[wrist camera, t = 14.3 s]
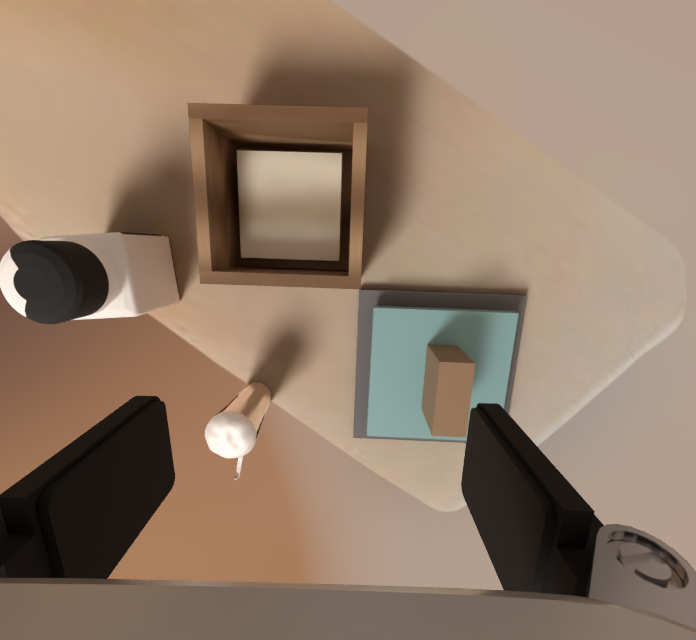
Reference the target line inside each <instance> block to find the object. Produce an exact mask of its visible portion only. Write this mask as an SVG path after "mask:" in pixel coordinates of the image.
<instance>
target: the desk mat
mask: <svg viewBox="0 0 696 640" xmlns="http://www.w3.org/2000/svg"><path fill="white" fill-rule="evenodd" d="M526 297H527V296H525V295H516V294H489V293H461V292H433V291H405V290H377V289H359V312H358V337H357V361H356V386H355V411H354V437H353V438H372V439H394V440H416V441H439V442H461V443H466V442H467V441H463V440H442V439H420V438H399V437H378V436H367V414H368V395H369V376H370V357H371V338H372V319H373V306H398V307H424V308H450V309H475V310H501V311H514V312H517V313H519V314H518V321H517V327H516V334H515V340H514V346H513V353H512V359H511V366H510V372H509V378H508V385H507V391H506V398H505V404H504V410H505V411H506V412H507V413H508V411H509V405H510V399H511V392H512V386H513V380H514V373H515V367H516V361H517V354H518V348H519V342H520V335H521V329H522V323H523V316H524V310H525V304H526Z"/></svg>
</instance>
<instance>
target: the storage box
mask: <svg viewBox="0 0 696 640" xmlns="http://www.w3.org/2000/svg"><path fill="white" fill-rule="evenodd" d="M188 116H189V130H190V144H191V159H192V173H193V187H194V202H195V216H196V230H197V245H198V259H199V273H200V283H201V284H229V285H257V286H285V287H313V288H340V289H361V268H362V244H363V220H364V196H365V172H366V147H367V123H368V108H366V107H326V106H286V105H245V104H205V103H188Z"/></svg>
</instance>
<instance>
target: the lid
mask: <svg viewBox="0 0 696 640" xmlns="http://www.w3.org/2000/svg"><path fill="white" fill-rule="evenodd" d="M518 314H519V313H517V312H514V311H501V310H475V309H450V308H424V307H398V306H373V319H372V338H371V357H370V376H369V395H368V414H367V436H378V437H399V438H420V439H442V440H463V441H467V434H468V426H469V418H470V411H471V409H472V408H476V406H477V404H478V403H497V404H499V405H501V406H502V408H503V409H504V404H505V398H506V391H507V385H508V378H509V372H510V366H511V359H512V353H513V346H514V340H515V334H516V327H517V321H518Z"/></svg>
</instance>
